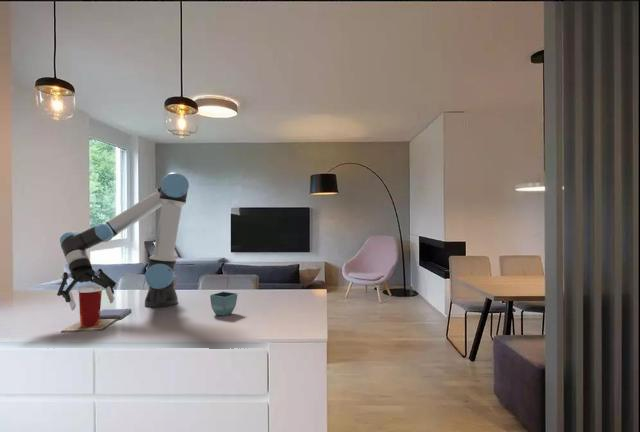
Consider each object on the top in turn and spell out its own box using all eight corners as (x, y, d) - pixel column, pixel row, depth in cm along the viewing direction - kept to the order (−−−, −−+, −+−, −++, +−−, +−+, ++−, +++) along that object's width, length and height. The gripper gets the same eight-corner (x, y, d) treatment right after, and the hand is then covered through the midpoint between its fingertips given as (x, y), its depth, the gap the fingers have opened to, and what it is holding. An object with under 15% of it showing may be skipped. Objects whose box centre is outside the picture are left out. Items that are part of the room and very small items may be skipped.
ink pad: (131, 311, 155) (131, 308, 155) (120, 319, 143) (120, 315, 143) (102, 312, 153) (102, 309, 153) (89, 320, 141) (89, 316, 141)
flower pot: (238, 313, 154) (238, 293, 154) (224, 317, 146) (225, 297, 146) (222, 310, 158) (223, 291, 158) (209, 315, 150) (209, 295, 150)
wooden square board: (117, 319, 142) (117, 318, 142) (102, 330, 129) (102, 329, 129) (80, 321, 140) (80, 320, 140) (61, 332, 126) (61, 330, 126)
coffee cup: (107, 322, 137) (107, 285, 137) (87, 329, 129) (88, 289, 129) (91, 320, 139) (92, 284, 139) (71, 326, 131) (72, 288, 132)
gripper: (108, 266, 154) (123, 304, 145) (39, 272, 133) (52, 317, 124) (113, 255, 151) (130, 293, 142) (44, 260, 130) (58, 304, 121)
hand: (94, 304), depth 133 cm, fingers open, 13 cm apart
